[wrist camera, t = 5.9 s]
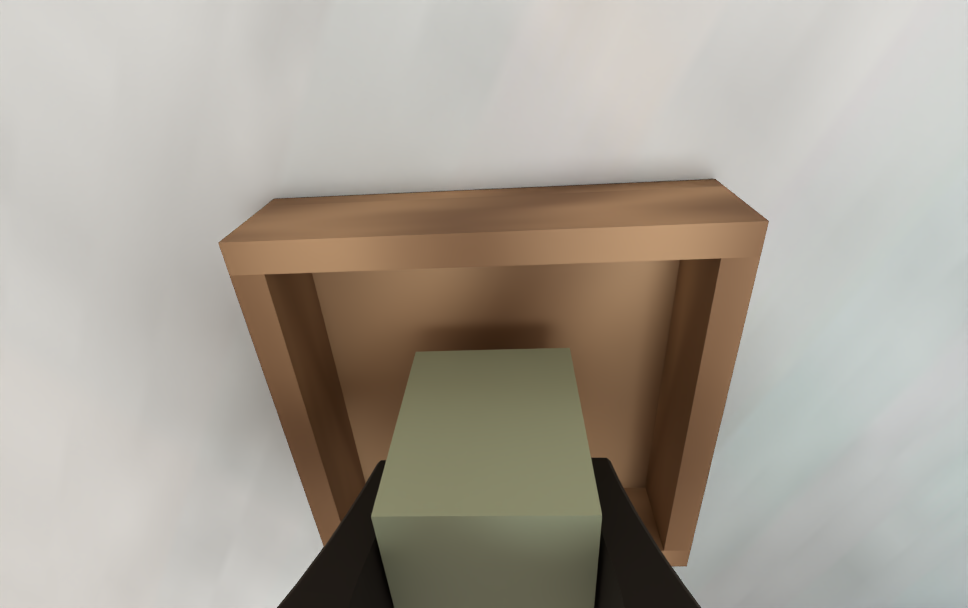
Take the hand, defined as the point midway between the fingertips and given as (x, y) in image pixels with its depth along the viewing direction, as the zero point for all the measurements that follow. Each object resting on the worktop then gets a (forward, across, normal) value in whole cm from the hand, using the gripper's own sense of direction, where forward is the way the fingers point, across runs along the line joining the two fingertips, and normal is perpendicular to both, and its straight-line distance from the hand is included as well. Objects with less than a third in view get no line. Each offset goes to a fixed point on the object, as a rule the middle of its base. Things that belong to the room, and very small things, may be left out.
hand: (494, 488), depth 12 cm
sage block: (+2, 0, 0) cm, 3 cm away
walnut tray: (+5, 0, 0) cm, 5 cm away
